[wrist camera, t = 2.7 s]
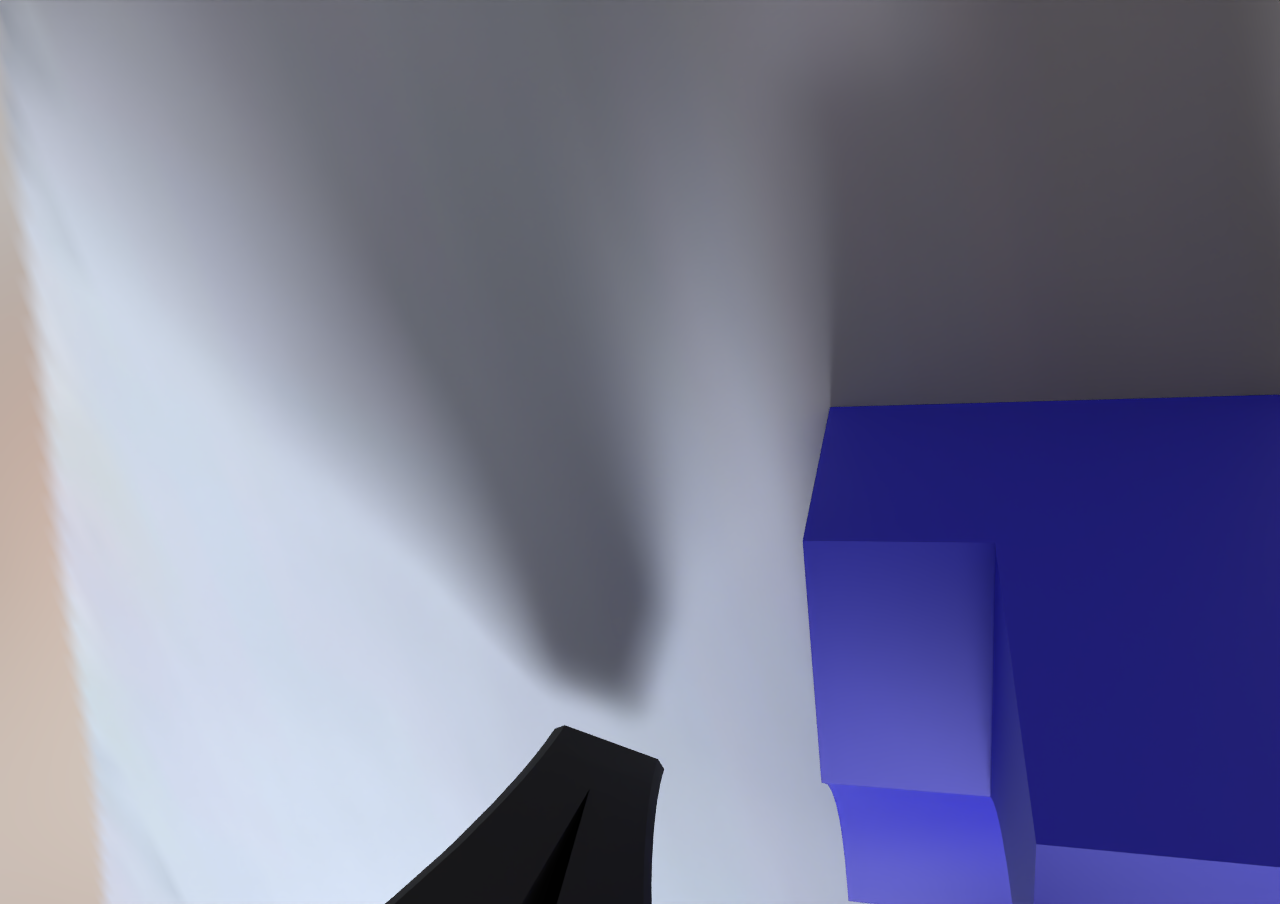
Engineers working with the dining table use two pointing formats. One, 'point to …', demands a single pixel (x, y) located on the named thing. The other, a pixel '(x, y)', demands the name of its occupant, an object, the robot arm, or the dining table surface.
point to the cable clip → (1051, 649)
